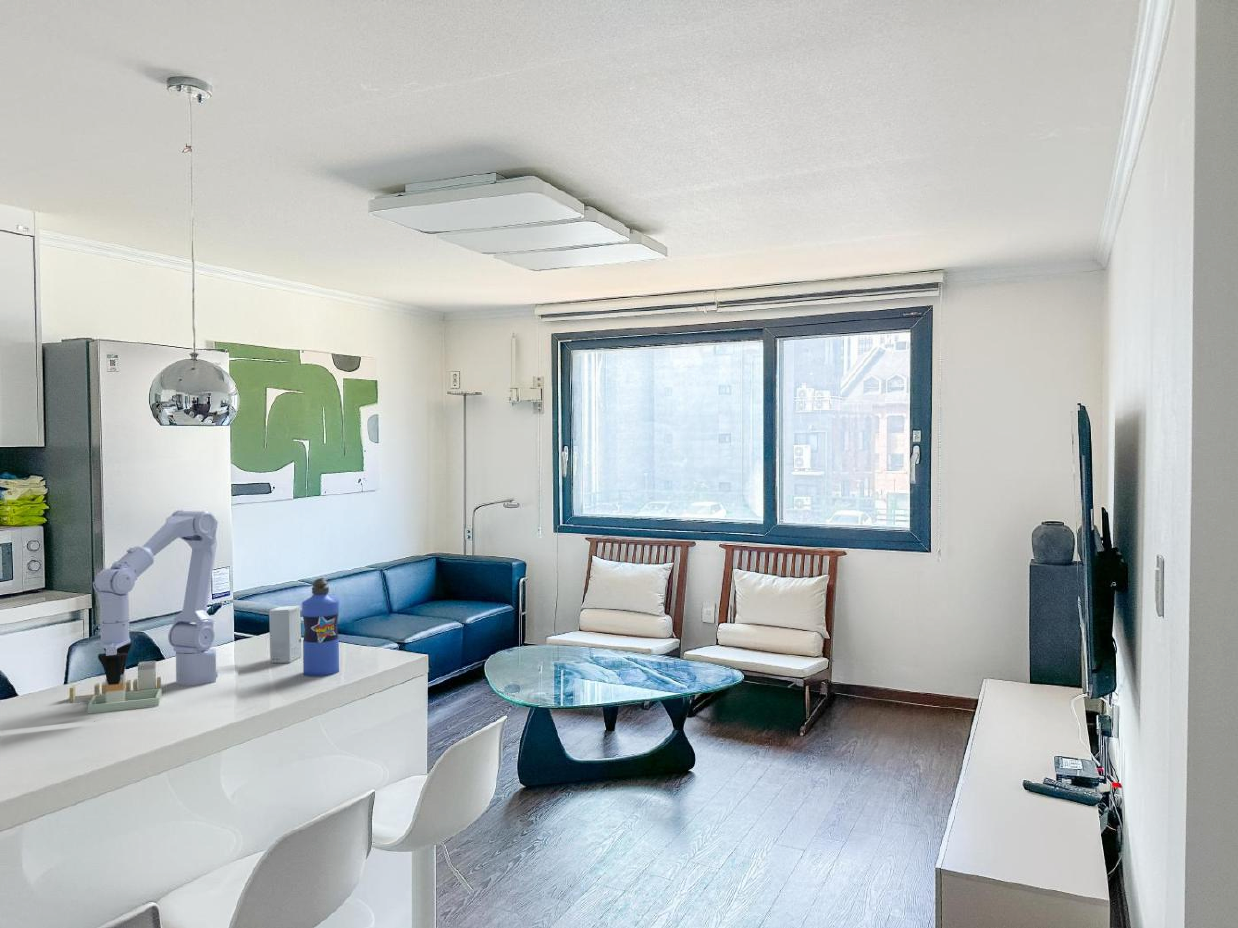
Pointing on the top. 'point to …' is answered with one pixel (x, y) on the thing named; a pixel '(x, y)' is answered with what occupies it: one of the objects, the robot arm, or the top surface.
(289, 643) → the skincare box
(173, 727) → the top surface
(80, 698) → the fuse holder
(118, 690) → the marked fuse
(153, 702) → the tray
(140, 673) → the fuse near base
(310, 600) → the blue bottle
